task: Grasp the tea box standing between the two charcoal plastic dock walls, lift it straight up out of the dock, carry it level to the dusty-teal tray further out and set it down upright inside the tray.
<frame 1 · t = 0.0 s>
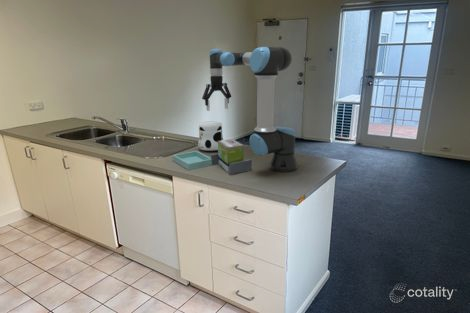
hand: (217, 109, 206), 28 cm above the counter, fingers open, 13 cm apart
tea box: (230, 167, 185), on the counter
tray: (192, 162, 193), on the counter
milk container: (211, 149, 219), on the counter
dock: (230, 167, 184), on the counter
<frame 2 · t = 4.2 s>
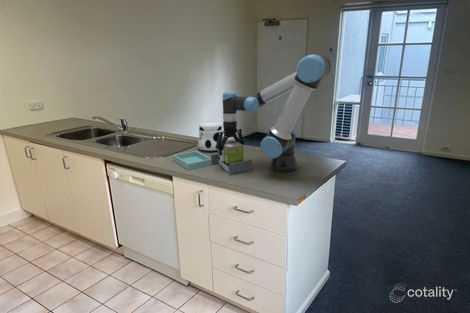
hand: (230, 158, 183), 5 cm above the counter, fingers closed on tea box, 11 cm apart
tea box: (230, 167, 184), on the counter, touching gripper
everything else where it was.
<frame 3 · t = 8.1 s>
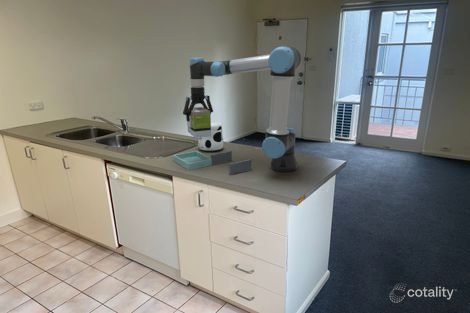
hand: (198, 125, 184), 23 cm above the counter, fingers closed on tea box, 11 cm apart
tea box: (199, 134, 186), point 18 cm above the counter, touching gripper
everything else where it was.
when the fingers open (7 cm above the counter, at t = 12.3 s): tea box drops 2 cm, resting on tray.
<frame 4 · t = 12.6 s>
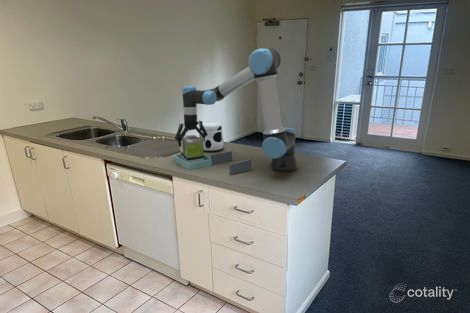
hand: (192, 149, 190), 8 cm above the counter, fingers open, 13 cm apart
tea box: (192, 162, 193), resting on tray
everything else where it was.
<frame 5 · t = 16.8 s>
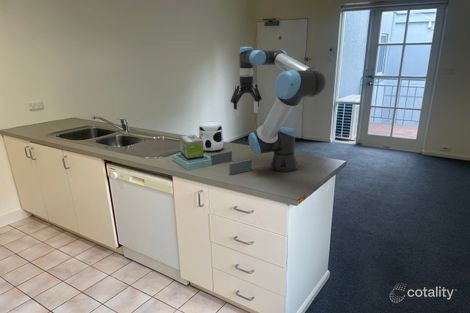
hand: (246, 113, 186), 29 cm above the counter, fingers open, 13 cm apart
nothing on the counter moved.
at the end: tea box inside the target area on the tray (0.4 cm from its centre), point 0.4 cm above the tray's base; tea box tilted 0°; the gripper is holding nothing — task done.
